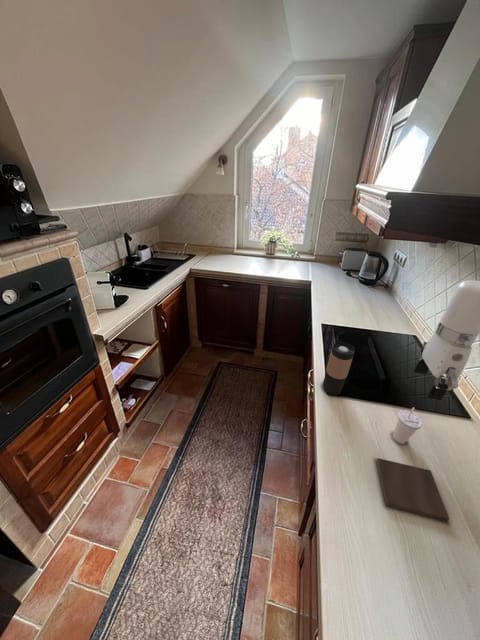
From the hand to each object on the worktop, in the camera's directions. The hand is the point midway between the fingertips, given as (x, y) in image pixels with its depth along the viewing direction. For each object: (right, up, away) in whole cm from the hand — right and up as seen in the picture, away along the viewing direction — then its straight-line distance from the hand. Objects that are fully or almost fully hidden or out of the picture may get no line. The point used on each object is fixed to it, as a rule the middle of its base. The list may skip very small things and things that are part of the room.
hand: (426, 384), depth 69 cm
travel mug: (-14, -10, +31) cm, 36 cm away
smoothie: (+1, -21, +13) cm, 25 cm away
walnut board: (-5, -28, 0) cm, 29 cm away
